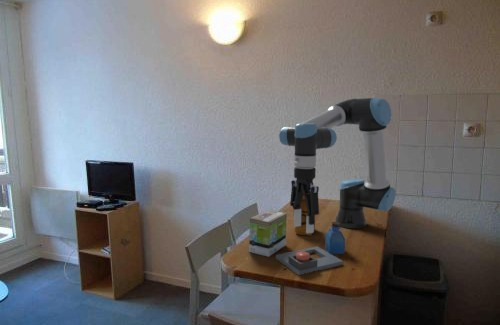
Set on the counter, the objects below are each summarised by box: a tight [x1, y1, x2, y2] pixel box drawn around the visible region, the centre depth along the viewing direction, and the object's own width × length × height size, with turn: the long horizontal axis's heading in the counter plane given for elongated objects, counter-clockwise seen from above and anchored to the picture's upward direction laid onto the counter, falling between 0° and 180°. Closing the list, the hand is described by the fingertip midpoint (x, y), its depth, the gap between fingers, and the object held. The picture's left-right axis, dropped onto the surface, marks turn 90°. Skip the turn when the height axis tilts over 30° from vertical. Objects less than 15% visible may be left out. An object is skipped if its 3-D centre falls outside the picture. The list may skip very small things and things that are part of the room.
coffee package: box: [294, 193, 316, 237], centre depth 167 cm, size 10×12×22 cm
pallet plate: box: [275, 245, 344, 276], centre depth 134 cm, size 20×16×4 cm
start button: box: [296, 252, 311, 262], centre depth 128 cm, size 5×5×2 cm
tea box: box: [248, 209, 288, 258], centre depth 146 cm, size 15×10×15 cm, turn 148°
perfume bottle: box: [324, 221, 346, 255], centre depth 144 cm, size 6×6×12 cm
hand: (303, 229), depth 127 cm, fingers open, 7 cm apart
